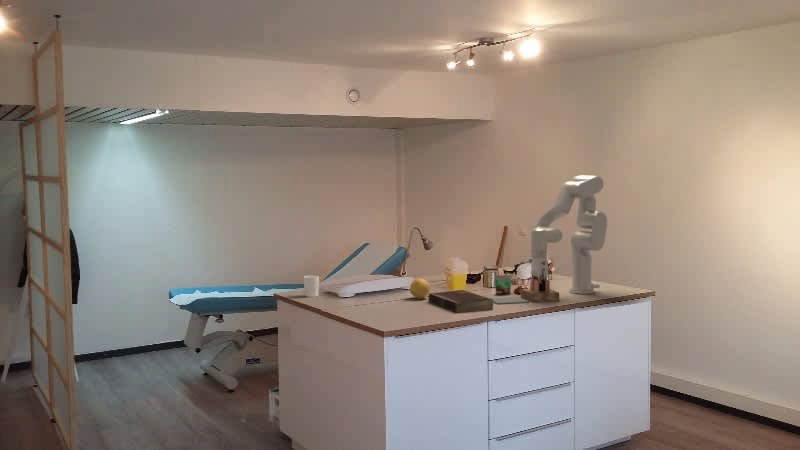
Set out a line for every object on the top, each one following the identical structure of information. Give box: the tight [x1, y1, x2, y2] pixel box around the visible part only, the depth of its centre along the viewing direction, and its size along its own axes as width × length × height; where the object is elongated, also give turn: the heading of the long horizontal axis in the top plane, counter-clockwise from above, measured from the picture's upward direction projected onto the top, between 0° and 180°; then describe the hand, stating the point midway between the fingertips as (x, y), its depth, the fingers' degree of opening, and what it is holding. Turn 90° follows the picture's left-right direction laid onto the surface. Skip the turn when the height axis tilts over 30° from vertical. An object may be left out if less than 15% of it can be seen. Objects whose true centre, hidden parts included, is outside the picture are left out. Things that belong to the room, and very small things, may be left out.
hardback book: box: [427, 289, 494, 314], centre depth 340 cm, size 29×19×5 cm, turn 23°
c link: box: [529, 278, 551, 292], centre depth 355 cm, size 7×7×6 cm
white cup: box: [303, 274, 320, 298], centre depth 368 cm, size 8×8×10 cm
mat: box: [489, 296, 530, 305], centre depth 350 cm, size 16×13×1 cm
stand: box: [520, 288, 560, 303], centre depth 355 cm, size 14×14×8 cm
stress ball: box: [409, 277, 431, 300], centre depth 359 cm, size 10×10×10 cm
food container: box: [494, 272, 513, 296], centre depth 371 cm, size 12×6×10 cm, turn 143°
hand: (538, 289), depth 355 cm, fingers closed on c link, 7 cm apart
